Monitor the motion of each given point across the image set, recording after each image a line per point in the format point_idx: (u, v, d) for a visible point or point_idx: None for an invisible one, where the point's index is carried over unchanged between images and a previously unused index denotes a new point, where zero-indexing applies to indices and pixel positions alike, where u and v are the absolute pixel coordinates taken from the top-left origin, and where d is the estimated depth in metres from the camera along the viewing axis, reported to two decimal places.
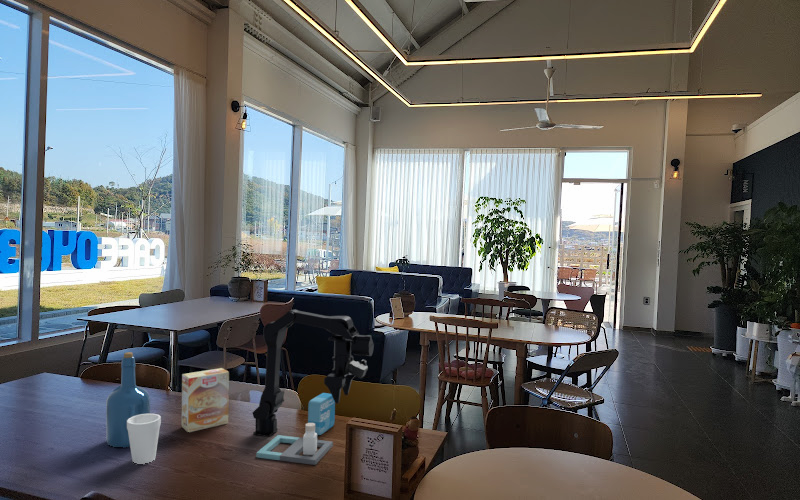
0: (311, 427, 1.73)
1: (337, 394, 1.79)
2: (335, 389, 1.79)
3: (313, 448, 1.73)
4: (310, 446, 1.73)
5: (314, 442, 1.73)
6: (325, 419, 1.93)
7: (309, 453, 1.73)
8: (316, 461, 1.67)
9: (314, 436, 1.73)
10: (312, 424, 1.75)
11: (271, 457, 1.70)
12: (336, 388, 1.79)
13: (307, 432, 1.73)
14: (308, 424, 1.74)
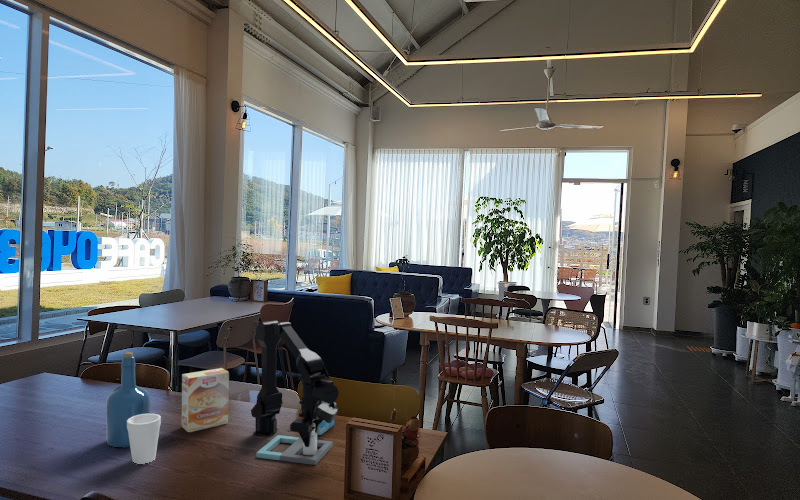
0: None
1: (307, 438, 1.71)
2: (305, 432, 1.71)
3: (313, 448, 1.73)
4: (310, 446, 1.73)
5: (314, 442, 1.73)
6: None
7: (309, 453, 1.73)
8: (316, 461, 1.67)
9: (314, 436, 1.73)
10: None
11: (271, 457, 1.70)
12: None
13: None
14: None
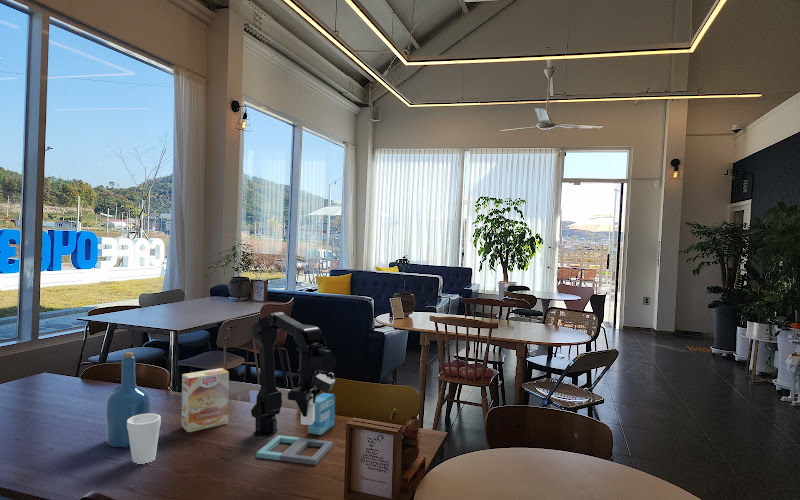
0: None
1: (305, 407, 1.71)
2: (303, 402, 1.71)
3: (311, 418, 1.73)
4: (307, 415, 1.73)
5: (312, 412, 1.73)
6: (325, 419, 1.93)
7: (307, 423, 1.73)
8: (316, 461, 1.67)
9: (312, 406, 1.73)
10: None
11: (271, 457, 1.70)
12: (304, 401, 1.71)
13: None
14: None
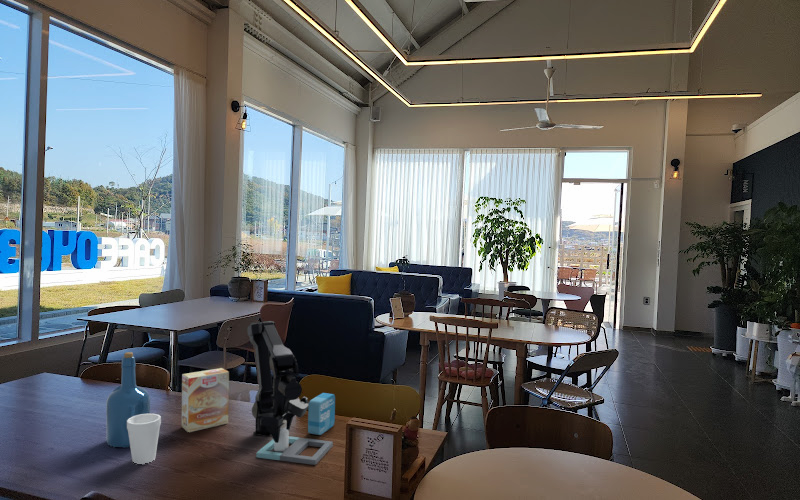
0: None
1: (276, 433, 1.72)
2: (274, 428, 1.72)
3: (284, 444, 1.75)
4: (280, 442, 1.75)
5: (285, 439, 1.75)
6: (325, 419, 1.93)
7: (280, 449, 1.75)
8: (316, 461, 1.67)
9: (285, 433, 1.76)
10: (283, 421, 1.77)
11: (271, 457, 1.70)
12: (275, 427, 1.72)
13: None
14: None
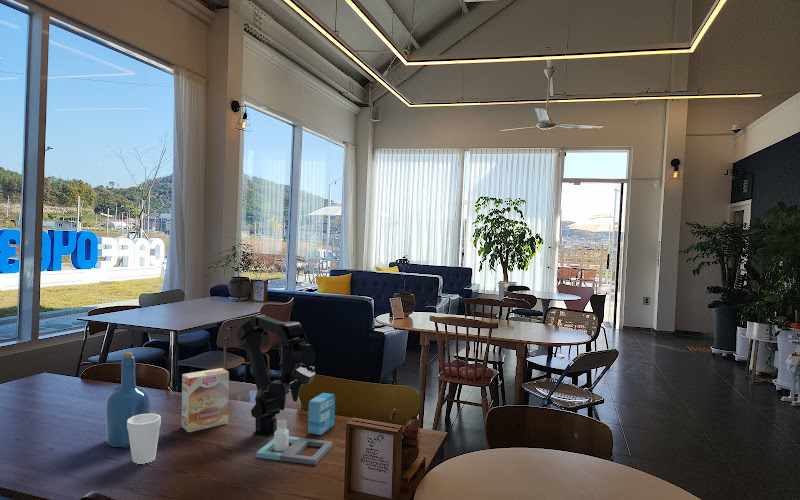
0: (282, 424, 1.76)
1: (282, 401, 1.76)
2: (280, 396, 1.76)
3: (284, 444, 1.75)
4: (280, 442, 1.75)
5: (285, 439, 1.75)
6: (325, 419, 1.93)
7: (280, 449, 1.75)
8: (316, 461, 1.67)
9: (285, 433, 1.76)
10: (283, 421, 1.77)
11: (271, 457, 1.70)
12: (281, 395, 1.76)
13: (278, 429, 1.76)
14: (279, 421, 1.77)
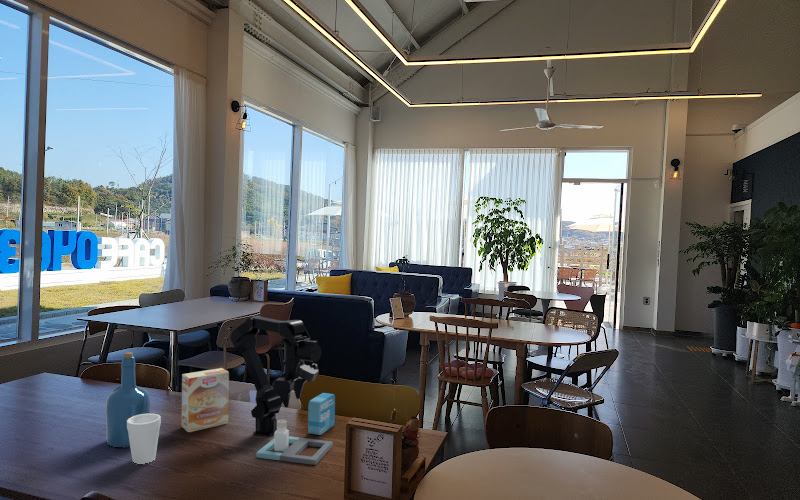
0: (282, 424, 1.76)
1: (286, 398, 1.79)
2: (284, 393, 1.79)
3: (284, 444, 1.75)
4: (280, 442, 1.75)
5: (285, 439, 1.75)
6: (325, 419, 1.93)
7: (280, 449, 1.75)
8: (316, 461, 1.67)
9: (285, 433, 1.76)
10: (283, 421, 1.77)
11: (271, 457, 1.70)
12: (285, 392, 1.79)
13: (278, 429, 1.76)
14: (279, 421, 1.77)
